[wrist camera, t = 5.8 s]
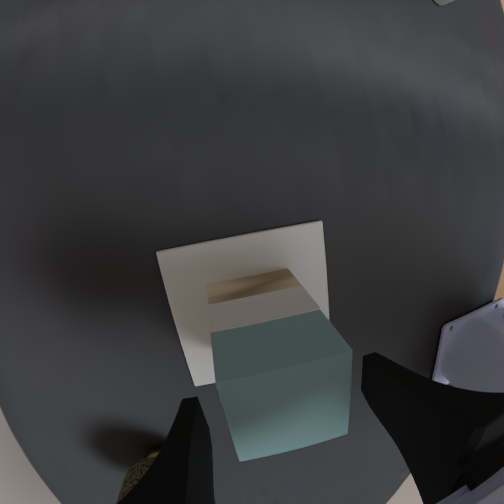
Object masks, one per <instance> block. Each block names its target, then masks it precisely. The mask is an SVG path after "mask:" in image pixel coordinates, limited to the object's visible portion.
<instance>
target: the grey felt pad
mask: <svg viewBox="0 0 504 504" xmlns="http://www.w3.org/2000/svg"><path fill="white" fill-rule="evenodd" d="M156 254H157V258H158V262H159V266H160V270H161V274H162V278H163V282H164V286H165V290H166V293H167V297H168V301H169V304H170V308H171V311H172V315H173V318H174V322H175V325H176V329H177V332H178V335H179V339H180V342H181V345H182V348H183V351H184V355H185V358H186V361H187V364H188V367H189V370H190V373H191V376H192V379H193V382H194V385H195V386H200V385H206V384H212V383H215V374H214V364H213V355H212V345H211V334H210V333H211V328H210V317H209V306H208V295H207V284H212V283H217V282H222V281H227V280H232V279H237V278H242V277H247V276H252V275H257V274H262V273H267V272H272V271H277V270H282V269H287V268H288V269H289V270H290V271H291V273H292V274H293V275H294V276H295V277H296V279H297V280H298V281H299V282H300V284H301V285H302V286H303V287H304V288H305V289H306V291H307V292H308V293H309V294H310V296H311V297H312V298H313V299H314V300H315V302H316V303H317V304H318V305H319V307H320V308H321V311H322V312H323V314H324V315H325V316H326V317H327V319H328V320H329V303H328V286H327V271H326V258H325V246H324V234H323V224H322V221H321V220H319V221H313V222H308V223H302V224H297V225H291V226H286V227H280V228H275V229H269V230H264V231H259V232H253V233H248V234H243V235H237V236H232V237H227V238H222V239H216V240H211V241H206V242H201V243H196V244H191V245H186V246H180V247H175V248H170V249H165V250H160V251H157V252H156Z"/></svg>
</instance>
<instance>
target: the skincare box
mask: <svg viewBox="0 0 504 504" xmlns="http://www.w3.org/2000/svg"><path fill="white" fill-rule="evenodd" d="M434 1H435V2H436V3H437V4H438V5H440V6H442V5H444V4H447V3H449V2H452V1H454V0H434Z"/></svg>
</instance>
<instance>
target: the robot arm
mask: <svg viewBox="0 0 504 504" xmlns="http://www.w3.org/2000/svg"><path fill="white" fill-rule="evenodd" d="M503 304H504V299H502V298H499V299H498V300H495V301H493V302H491V303H489V304H487V305H485V306H483V307H481V308H479V309H477V310H475V311H473V312H471V313H469V314H467V315H465V316H462V317H460V318H458V319H456V320H454V321H451V322H449V323H447V324H445V325H444V326H443V327H442V330H441V336H440V342H439V348H438V353H437V358H436V363H435V368H434V372H433V377H432V380H431V379H429V378H427V377H424V376H422V375H419V374H417V373H415V372H413V371H411V370H409V369H407V368H405V367H403V366H401V365H399V364H397V363H395V362H393V361H391V360H389V359H388V358H386V357H384V356H382V355H380V354H378V353H376V352H374V353H371V354H368V355H365V356H363V368H362V384H361V390H362V392H363V394H364V396H365V399H366V400H367V402H368V404H369V406H370V408H371V409H372V411H373V412H374V414H375V415H376V416H377V418H378V419H379V421H380V422H381V423H382V425H383V426H384V428H385V429H386V430H387V432H388V433H389V435H390V436H391V437H392V439H393V440H394V442H395V443H396V445H397V447H398V448H399V450H400V452H401V454H402V456H403V458H404V460H405V462H406V464H407V466H408V468H409V470H410V472H411V474H412V476H413V478H414V481H415V483H416V485H417V488H418V490H419V493H420V496H421V498H422V501H423V504H504V308H503ZM448 383H451V384H452V385H453V386H454V387H453V386H450V385H446V384H448ZM117 504H215V499H214V488H213V460H212V444H211V437H210V431H209V427H208V424H207V421H206V419H205V416H204V413H203V411H202V408H201V405H200V402H199V400H198V397H192V398H185V399H183V400H182V401H181V404H180V407H179V409H178V412H177V415H176V417H175V420H174V422H173V425H172V427H171V429H170V431H169V434H168V436H167V438H166V440H165V442H164V444H163V445H162V447H161V449H160V451H159V453H158V454H157V456H156V458H155V459H154V461H153V462H152V464H151V465H150V467H149V468H148V470H147V471H146V472H145V474H144V475H143V476H142V478H141V479H140V480H139V481H138V482H137V484H136V485H135V486H134V487H133V488H132V489H131V490H130V491H129V492H128V493H127V494H126V495H125V496H124V497H123V498H122V499H121V500H120V501H119V502H118V503H117Z"/></svg>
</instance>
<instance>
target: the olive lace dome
mask: <svg viewBox="0 0 504 504" xmlns="http://www.w3.org/2000/svg"><path fill="white" fill-rule="evenodd" d="M161 447H162V446H156V447H152V448H150V449H149V450H147V451H146V453H145V454H144V456H143V459H141V460H139V461H137V462H136V463H135V464H133V465H132V466H131V467H130V469H129V470H128V472H127V473H126V475H125V478H124V480H123V483H122V486H121V490H120V493H119V497H118V501H117V503H118V502H119V501H120V500H121V499H122V498H123V497H124V496H125V495H126V494H127V493H128V492H129V491H130V490H131V489H132V488H133V487H134V486H135V485H136V484H137V482H138V481H139V480H140V479H141V478H142V476H143V475H144V474H145V472H146V471H147V470H148V468H149V467H150V465H151V464H152V462H153V461H154V459H155V458H156V456H157V454H158V453H159V451H160V449H161Z"/></svg>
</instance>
